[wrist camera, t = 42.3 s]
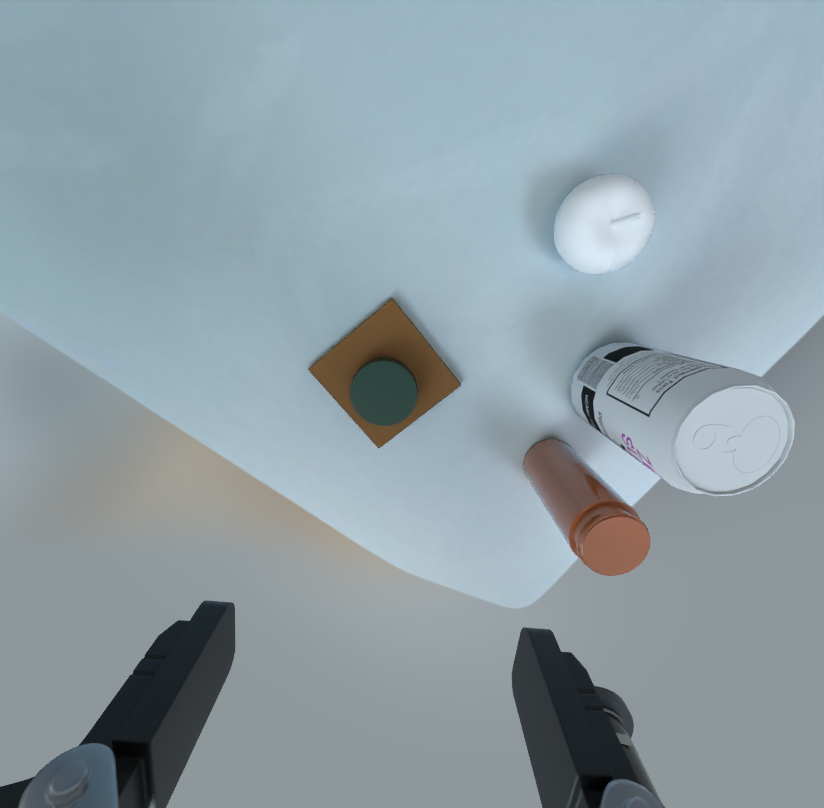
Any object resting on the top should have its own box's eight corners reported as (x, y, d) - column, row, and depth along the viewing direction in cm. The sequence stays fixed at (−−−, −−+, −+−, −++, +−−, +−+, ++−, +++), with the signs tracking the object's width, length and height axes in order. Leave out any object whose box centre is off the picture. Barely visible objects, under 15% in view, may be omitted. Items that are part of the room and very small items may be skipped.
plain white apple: (621, 273, 36) (679, 268, 28) (539, 278, 36) (575, 275, 28) (627, 184, 34) (692, 153, 26) (541, 190, 34) (580, 161, 26)
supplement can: (666, 347, 37) (828, 384, 23) (640, 431, 40) (773, 513, 25) (580, 335, 37) (690, 364, 23) (558, 420, 39) (646, 497, 25)
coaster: (460, 383, 38) (461, 385, 38) (379, 446, 40) (378, 448, 39) (392, 297, 36) (392, 298, 35) (309, 368, 38) (307, 369, 37)
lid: (388, 342, 36) (386, 345, 35) (430, 392, 38) (432, 398, 36) (338, 385, 38) (334, 390, 36) (382, 432, 39) (380, 439, 37)
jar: (586, 459, 40) (671, 542, 27) (549, 496, 41) (614, 592, 28) (548, 428, 39) (617, 498, 26) (512, 467, 41) (561, 552, 27)
